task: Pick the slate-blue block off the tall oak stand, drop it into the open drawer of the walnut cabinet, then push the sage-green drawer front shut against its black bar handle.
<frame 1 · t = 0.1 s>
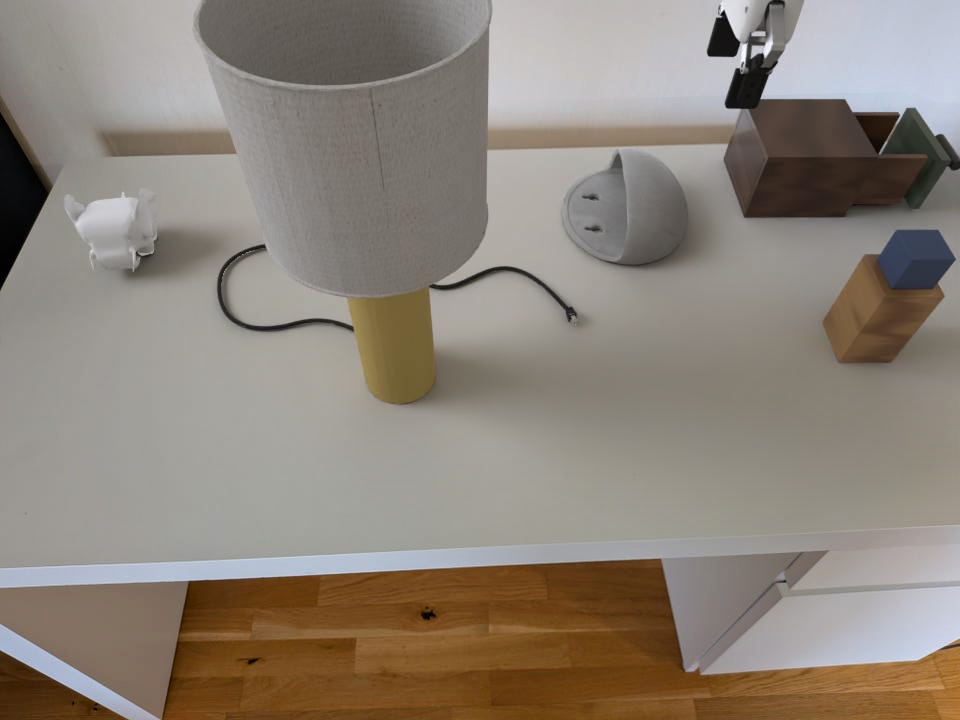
hand: (730, 80, 71), 22 cm above the table, tool pointing down, fingers open, 9 cm apart
drawer: (886, 158, 91), point 5 cm above the table, slide at 8.5 cm
stand: (855, 341, 78), on the table
cabinet: (781, 187, 95), on the table
table lamp: (398, 323, 80), on the table
planter: (622, 218, 91), on the table
block: (904, 274, 69), point 11 cm above the table, touching stand
elephant figurine: (132, 254, 86), on the table
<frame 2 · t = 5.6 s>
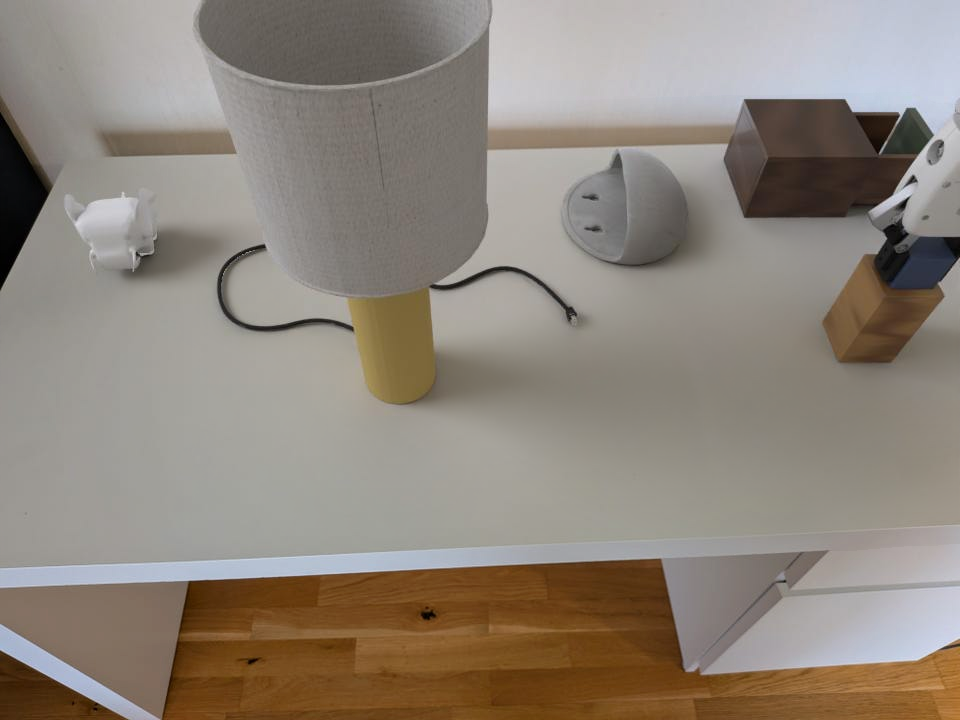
hand: (906, 270, 69), 12 cm above the table, tool pointing down, fingers closed on block, 4 cm apart
block: (904, 274, 69), point 11 cm above the table, touching gripper, stand
everything else where it was.
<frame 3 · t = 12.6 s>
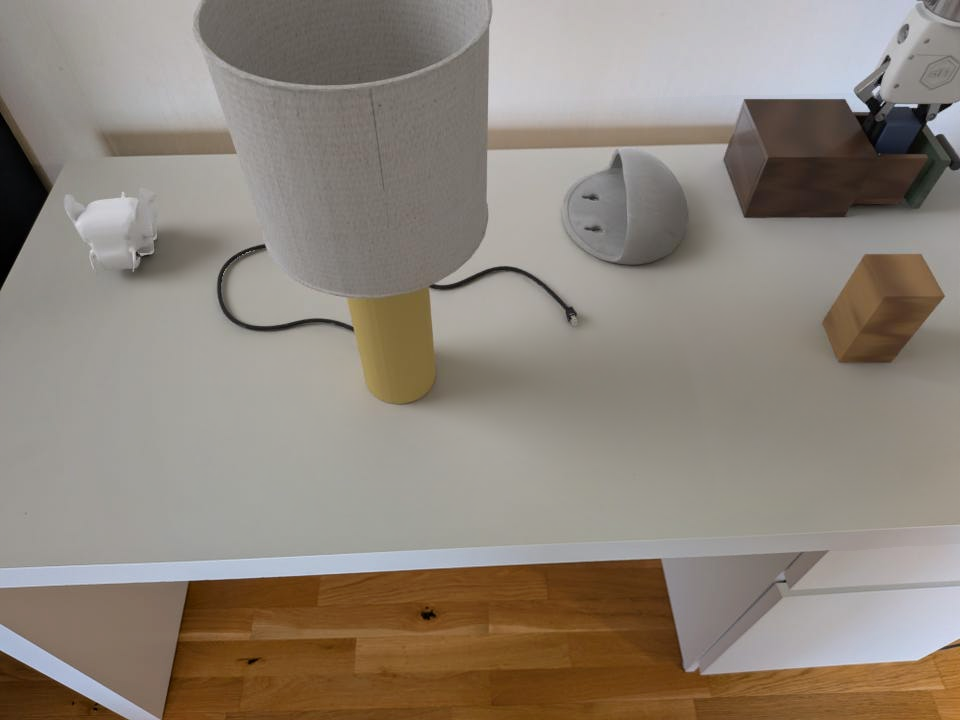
hand: (885, 140, 89), 7 cm above the table, tool pointing down, fingers closed on block, 4 cm apart
block: (883, 144, 89), point 7 cm above the table, touching gripper
everything else where it was.
when the fingers open (9 cm above the table, at t = 20.6 s): block drops 6 cm, resting on drawer.
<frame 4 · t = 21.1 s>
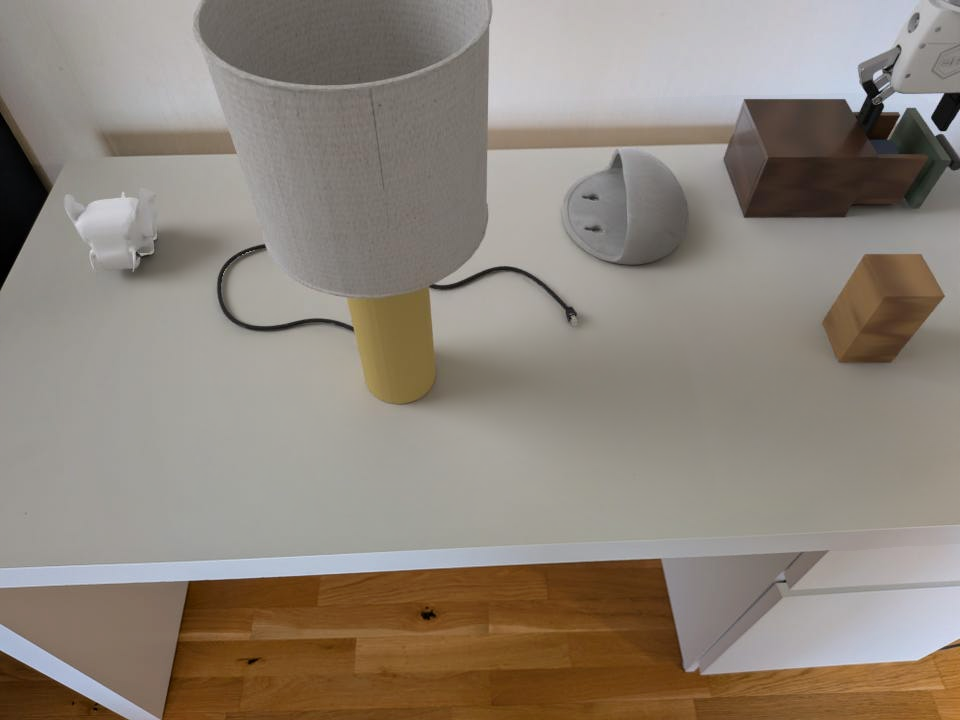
hand: (900, 125, 87), 10 cm above the table, tool pointing down, fingers open, 9 cm apart
drawer: (886, 158, 91), point 5 cm above the table, slide at 8.5 cm, touching block
block: (866, 175, 93), point 2 cm above the table, touching drawer
everything else where it was.
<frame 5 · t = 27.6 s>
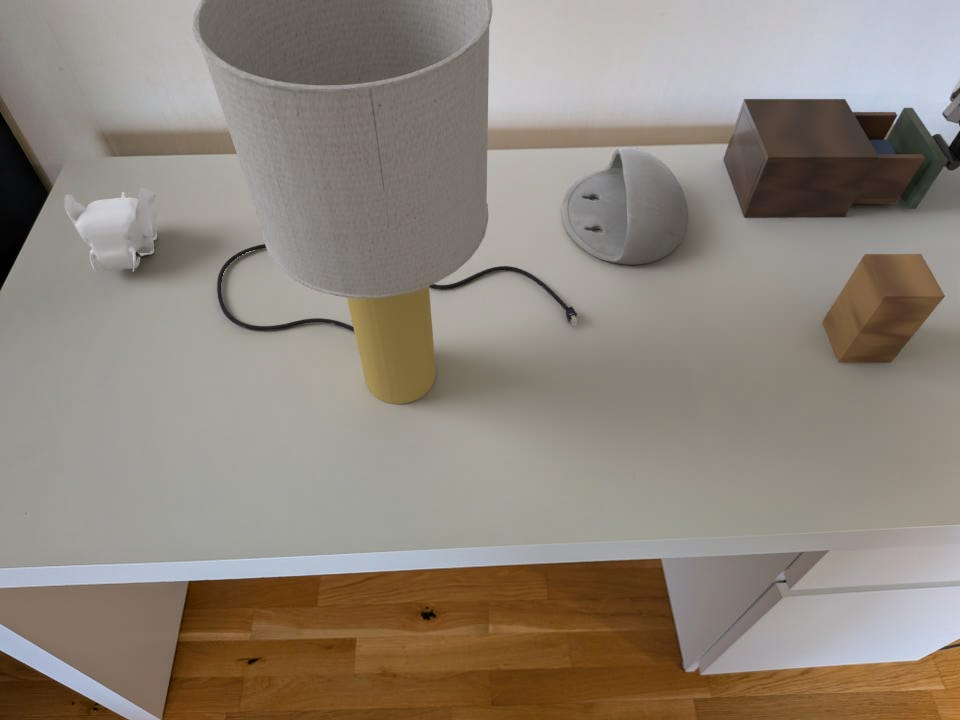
hand: (957, 158, 91), 5 cm above the table, tool pointing down, fingers closed
drawer: (883, 158, 91), point 5 cm above the table, slide at 8.1 cm, touching block, gripper
everything else where it was.
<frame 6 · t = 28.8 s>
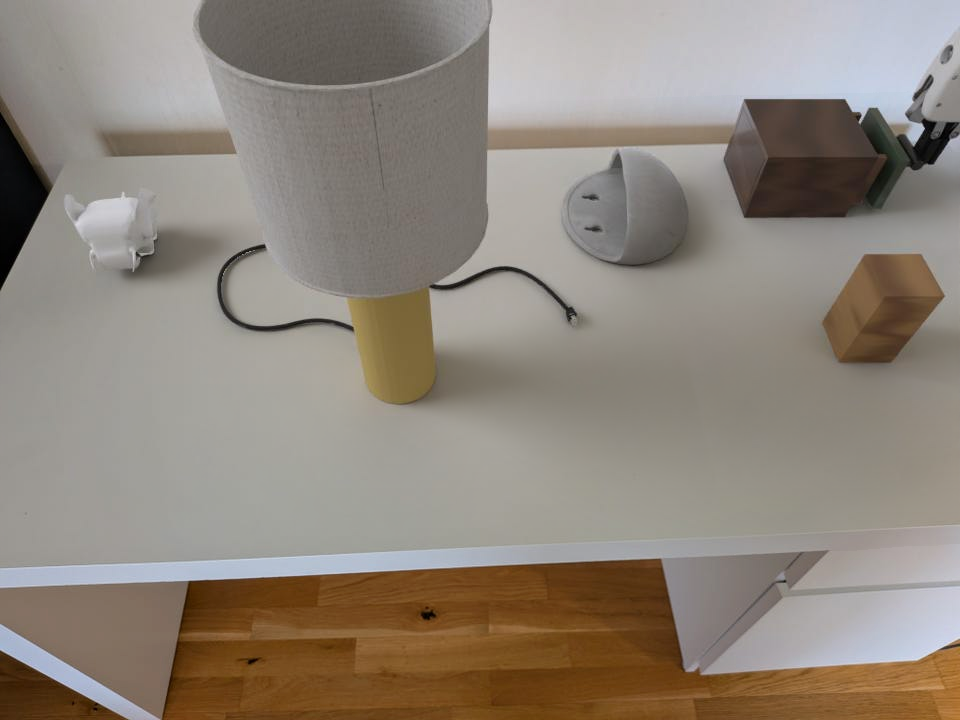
hand: (922, 158, 91), 5 cm above the table, tool pointing down, fingers closed
drawer: (848, 158, 91), point 5 cm above the table, slide at 3.4 cm, touching block, gripper
block: (828, 175, 93), point 2 cm above the table, touching drawer
everything else where it was.
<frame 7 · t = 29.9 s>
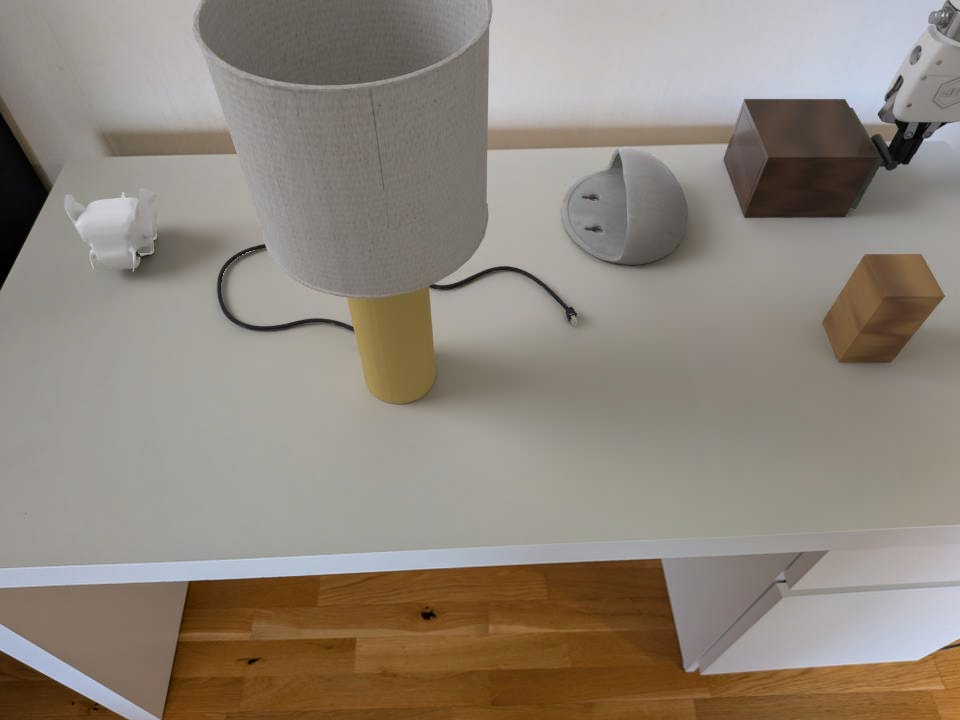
hand: (897, 158, 91), 5 cm above the table, tool pointing down, fingers closed
drawer: (823, 158, 91), point 5 cm above the table, slide at 0.0 cm, touching block, cabinet, gripper
block: (804, 175, 93), point 2 cm above the table, touching drawer
everything else where it was.
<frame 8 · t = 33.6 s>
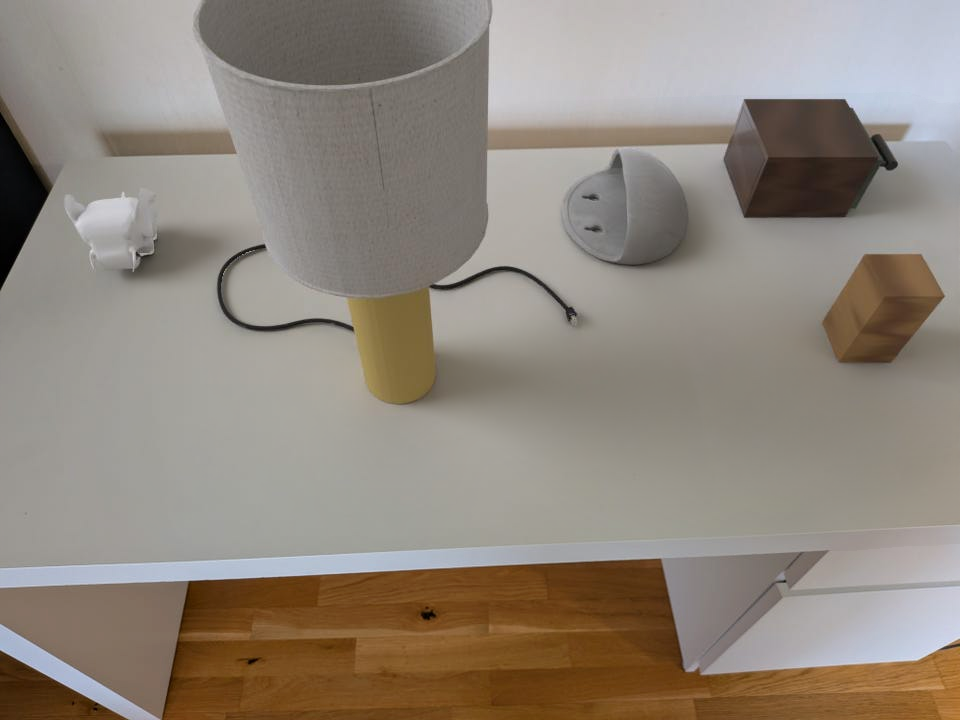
drawer: (823, 158, 91), point 5 cm above the table, slide at 0.0 cm, touching block, cabinet
everything else where it was.
at the end: block inside the target area in the cabinet (2.4 cm from its centre), point 2.0 cm above the cabinet's base; drawer slide at 0.0 cm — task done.
